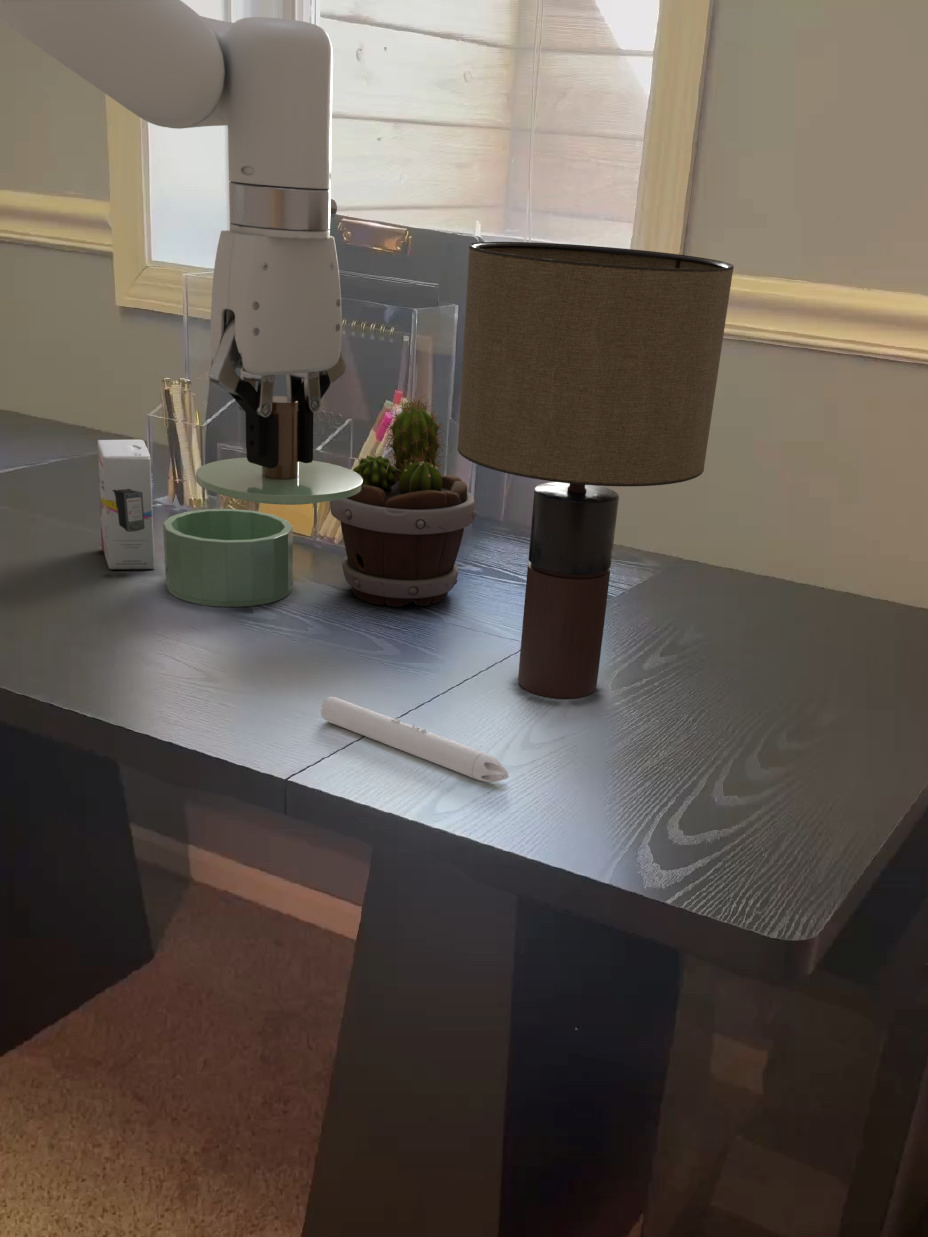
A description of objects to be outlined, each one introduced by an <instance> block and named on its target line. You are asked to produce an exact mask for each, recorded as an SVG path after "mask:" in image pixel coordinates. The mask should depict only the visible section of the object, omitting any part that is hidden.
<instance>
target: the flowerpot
mask: <svg viewBox="0 0 928 1237" xmlns="http://www.w3.org/2000/svg"><path fill="white" fill-rule="evenodd" d="M417 390H418V388H417V387H416V388H415V392H414V398H413V399H411V398H410V397H409V396H405V395H404V397H403V400H406V401H405V403H403V402H401V407H399V409H400V413H397V409H395V414H393V413H391V417H390V420H391V422H389V421H387V425H388V426H387V425H385V424H384V423H382V425H383V426H384V427H386V428H387V431H386V435H387V436H389V437H387V439H386V441H387V443H386V444H387V445H384V447H385V448H387V451H389V452H387V454H388V455H389V456H388V457H383V453H384V450H382V451H383V452H382V453H381V454H380V455H379V453H377V455H376V450H375V449H372V451H368V452H367V453H366V457H361V456H360V452H358V453H357V460H358V465H357V466H355V467H354V468H353V469H352V471H354V472H356V473H358V474H359V475H360V476H361V477H362V479H363V488H362V490H361V491H360V492H359V493H357V494H356V495H353V496H351V497H348V498H344V499H339V500H334V501H329V508H330V514H331V515H332V517H334V518H335V519H336V520H337V521H339V522H340V527H341V534H342V538H343V543H344V549H345V552H346V556H345V557H344V558H343V559H342V561H341V567H342V572H343V576H344V579H345V582H346V584H347V585H348V586H350V587H351V591H352V592H353V593H354V594H353V595H354V596H355V597H356V598H358V599H360V600H362V601H364V602H367V603H371V604H373V605H379V606H380V605H381V606H382V605H384V604H386V605H387V606H389V607H393V608H394V607H395V608H396V607H397V608H398V607H403V606H406V605H409V604H410V603H412V602H414V603H415V605H417V606H419V607H426V606H428V605H430V604H437V603H440V602H441V601H443V600H444V599H445V598H446V597H447V596H448V594H449V592H450V591H451V590H452V589H453V588H454V587H455V585H456V584H458V576H459V566H458V565H457V563H456V560H457V558H458V554H459V551H460V547H461V544H462V540H463V536H464V532H465V531H464V530H465V528H467V527H469V526H471V524H473V522H474V520H475V518H476V517H477V516H478V513H477V511H476V502H475V501H476V500H475V498H474V496H473V495H472V494H471V492H468V485H467V483H466V482H465V481H463V480H462V478H460V477H459V476H457V475H453V474H448V475H445V474H443V473H442V472H440V471H442V470H441V468H444V469H445V467H444V466H446V465H445V464H444V463H441V460H439V461H438V459H442V458H444V455H443V456H440V454H441V453H442V452H444V449H443V448H442V447H444V448H447V445H446V444H443V442H444V438H443V437H444V435H443V434H442V433H445V430H443V428H448V427H447V426H443V422H442V421H441V418H440V417H439V414H437V413H435V412H436V411H435V409H434V410H432V409H430V408H429V407H432V406H434V404H431V405H430V404H429V403H428V402H429V400H427V401H426V402H422V401H421V399H423V398H424V397H426V396H427V394H425V395H423V396H421V397H420V395H418V396H417ZM416 397H417V398H416ZM419 397H420V398H419ZM439 419H440V420H439ZM439 430H441V431H439ZM389 431H390V433H389ZM438 432H439V433H438ZM439 439H442V441H441V440H439ZM390 450H391V451H390ZM369 453H371V455H372V456H371V455H368V454H369ZM392 459H393V461H392ZM440 467H441V468H440Z"/></svg>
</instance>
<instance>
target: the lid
mask: <svg viewBox="0 0 928 1237" xmlns="http://www.w3.org/2000/svg"><path fill="white" fill-rule="evenodd" d="M270 415H271V416H275V417H277V420H278V465H277V466H276V467H275V468H266V467H263V466H260V465H257V464H253V463H250V462H249V461H248V460H247V456H246V457H234V458H227V459H221V460H215V461H212V462H208V463H206V464H203V465H201V466H200V467H198V468H197V469H196V471H195V482H196V483H197V484H198V486H200V487H201V488H202V489H204V490H207V491H208V492H211V493H214V494H217V495H220V496H224V497H228V498H233V499H237V500H242V501H246V502H251V503H258V504H265V505H266V504H267V505H279V506H280V505H281V506H283V505H284V506H297V505H298V506H299V505H314V504H319V503H326V502H330V501H334V500H339V499H344V498H348V497H351V496H353V495H356V494H357V493H359V492H360V491H361V490H362V488H363V479H362V477H361V476H360V475H359V474H358V473H356V472H354V471H353V469H350V468H347V467H344V466H341V465H338V464H334V463H329V462H324V461H319V460H313V461H312V462H311V463H303V462H299V400H297V399H295V398H291V397H287V396H283V395H281V396H280V395H273V403H272V412H271V414H270Z"/></svg>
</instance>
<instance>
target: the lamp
mask: <svg viewBox="0 0 928 1237" xmlns="http://www.w3.org/2000/svg"><path fill="white" fill-rule="evenodd" d="M467 262H468V263H467V264H468V265H467V280H466V282H467V283H466V295H465V296H466V298H465V314H464V315H465V316H464V334H463V351H462V369H461V382H460V383H461V384H460V399H459V400H460V402H459V418H458V419H459V420H458V437H457V452H458V453H459V454H460V456H461V457H463V458H464V459H466V460H467V461H469V462H471V463H473V464H475V465H478V466H480V467H482V468H483V467H484V468H486V469H489V470H493V471H497V472H500V473H504V474H508V475H513V476H517V477H522V478H528V479H533V480H540V481H547V482H544V483H541V484H538V485H536V486H535V487H534V489H533V500H532V502H533V503H532V513H531V524H530V535H529V536H530V537H529V549H528V562H527V568H526V569H527V570H526V580H525V593H524V604H523V616H522V626H521V627H522V628H521V640H520V650H519V663H518V676H517V680H518V684H519V685H520V686H521V688H523V689H524V690H526V691H528V692H530V693H532V694H535V695H538V696H543V697H546V698H553V699H577V698H582V697H586V696H588V695H591V694H592V693H594V692H595V691H596V689H597V685H598V680H599V672H600V671H599V670H600V661H601V652H602V645H603V636H604V628H605V627H604V626H605V621H606V620H605V619H606V613H607V612H606V611H607V602H608V594H609V588H610V587H609V586H610V579H611V578H610V577H611V567H612V560H613V550H614V542H615V533H616V525H617V518H618V517H617V516H618V508H619V500H620V495H619V493H618V492H616V491H615V490H613V489H610V488H607V487H652V486H665V485H672V484H679V483H683V482H687V481H690V480H694V479H696V478H698V477H700V476H701V475H703V473H704V471H705V463H706V456H707V450H708V443H709V436H710V435H709V434H710V429H711V423H712V417H713V411H714V410H713V409H714V404H715V403H714V402H715V396H716V389H717V382H718V375H719V368H720V363H721V362H720V361H721V354H722V349H723V341H724V335H725V329H726V321H727V314H728V307H729V301H730V295H731V294H730V293H731V286H732V279H733V273H734V268H735V266H734V264H732V263H729V262H726V261H723V260H717V259H711V258H707V257H701V256H700V257H699V256H692V255H685V254H679V253H669V252H662V251H653V250H652V251H651V250H642V249H633V248H624V247H622V248H621V247H613V246H611V247H610V246H597V245H584V244H570V243H554V242H553V243H552V242H529V241H481V242H480V241H479V242H474V243H469V245H468V261H467Z"/></svg>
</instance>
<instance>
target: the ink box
mask: <svg viewBox="0 0 928 1237" xmlns="http://www.w3.org/2000/svg"><path fill="white" fill-rule="evenodd" d="M97 454H98V455H97V456H98V457H97V458H98V482H99V483H98V485H99V486H98V487H99V508H100V509H99V510H100V536H101V537H100V539H101V540H100V541H101V542H100V543H101V549H102V552H103V555H104V558H105V561H106V564H107V566H108V569H109V570H155V568H156V567H155V565H156V564H155V563H156V562H155V560H156V559H155V537H154V512H153V511H154V510H153V487H152V467H151V466H152V464H151V462H152V461H151V455H150V452H149V450H148V447H147V445H146V443H145V440H144V439H137V438H135V439H97Z"/></svg>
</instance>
